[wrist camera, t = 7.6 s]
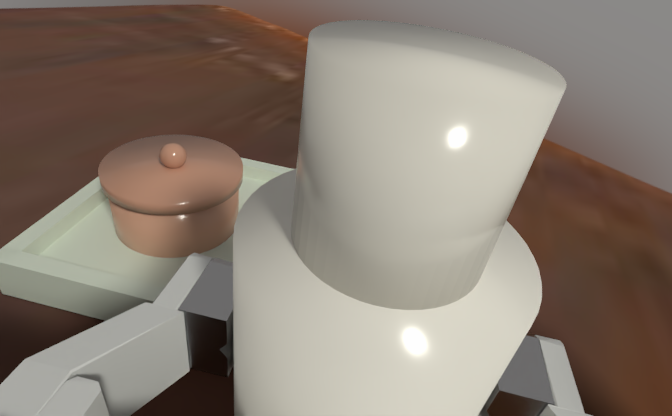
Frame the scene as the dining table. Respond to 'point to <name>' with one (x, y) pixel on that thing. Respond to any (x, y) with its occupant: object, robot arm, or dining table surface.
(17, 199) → the dining table surface
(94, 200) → the tray
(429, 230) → the bottle
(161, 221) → the sugar pot
